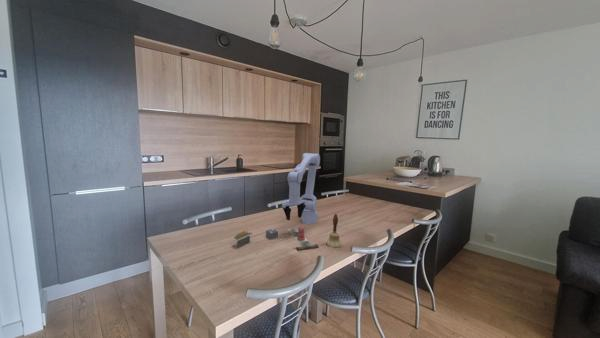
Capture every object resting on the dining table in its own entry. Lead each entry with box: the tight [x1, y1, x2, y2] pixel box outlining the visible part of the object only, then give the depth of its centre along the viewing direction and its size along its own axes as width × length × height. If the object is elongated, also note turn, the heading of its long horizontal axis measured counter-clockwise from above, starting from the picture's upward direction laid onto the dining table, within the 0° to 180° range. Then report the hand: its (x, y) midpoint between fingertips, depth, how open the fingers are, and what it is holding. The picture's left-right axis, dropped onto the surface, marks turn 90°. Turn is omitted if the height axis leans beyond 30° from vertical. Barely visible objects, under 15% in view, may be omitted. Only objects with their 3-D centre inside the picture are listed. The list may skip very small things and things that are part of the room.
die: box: [265, 228, 279, 241], centre depth 130 cm, size 4×4×5 cm
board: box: [287, 227, 319, 252], centre depth 131 cm, size 11×25×1 cm, turn 21°
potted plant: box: [233, 230, 253, 248], centre depth 123 cm, size 12×18×7 cm, turn 143°
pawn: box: [297, 225, 306, 242], centre depth 128 cm, size 4×4×7 cm
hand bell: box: [325, 213, 343, 248], centre depth 126 cm, size 8×8×16 cm
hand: (293, 218), depth 133 cm, fingers open, 7 cm apart
